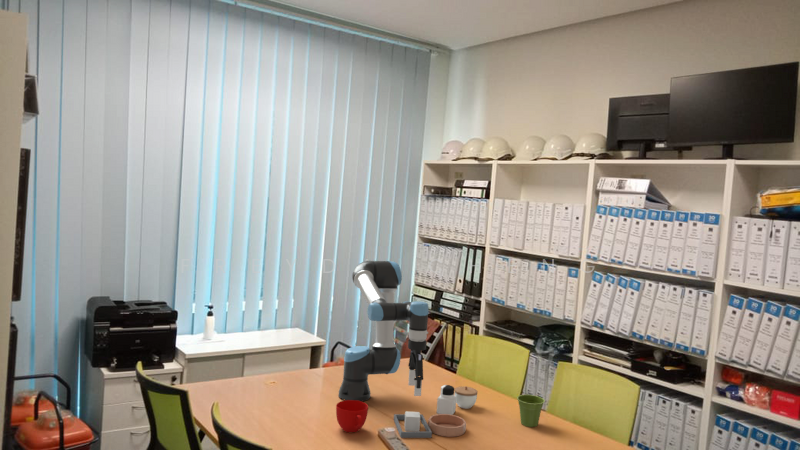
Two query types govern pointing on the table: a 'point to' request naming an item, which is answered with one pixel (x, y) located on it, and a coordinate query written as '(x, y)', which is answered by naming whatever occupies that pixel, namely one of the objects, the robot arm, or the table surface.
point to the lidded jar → (465, 396)
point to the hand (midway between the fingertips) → (414, 390)
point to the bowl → (447, 425)
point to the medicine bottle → (446, 400)
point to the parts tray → (412, 434)
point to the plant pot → (530, 409)
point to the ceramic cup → (351, 415)
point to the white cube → (412, 421)
